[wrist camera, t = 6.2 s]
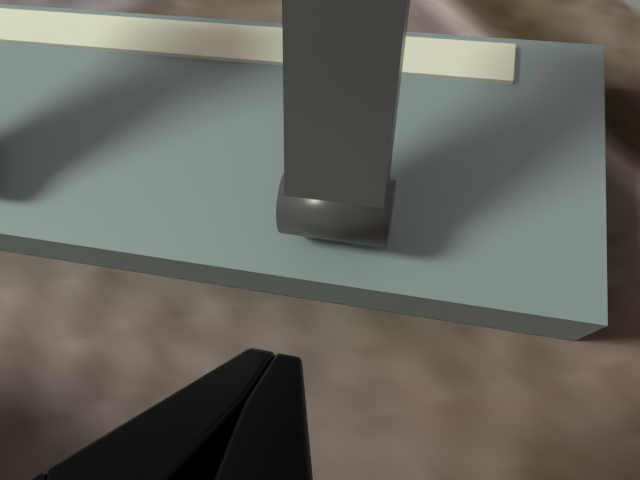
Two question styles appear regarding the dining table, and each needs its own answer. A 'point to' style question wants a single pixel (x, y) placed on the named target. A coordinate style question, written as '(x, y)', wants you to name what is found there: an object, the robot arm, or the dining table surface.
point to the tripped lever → (340, 117)
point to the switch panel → (268, 167)
